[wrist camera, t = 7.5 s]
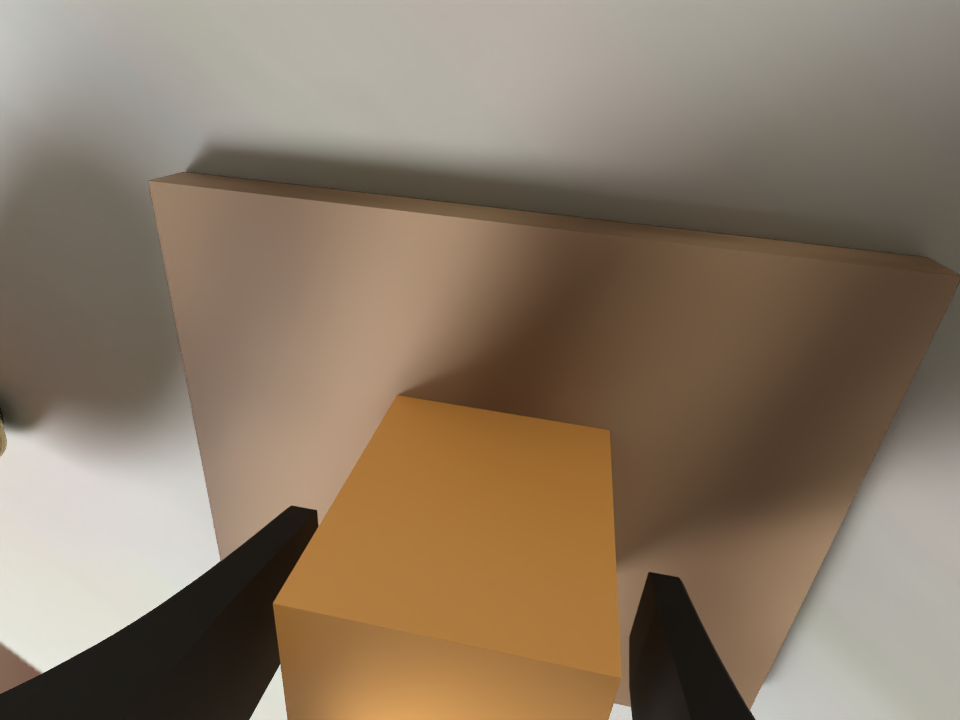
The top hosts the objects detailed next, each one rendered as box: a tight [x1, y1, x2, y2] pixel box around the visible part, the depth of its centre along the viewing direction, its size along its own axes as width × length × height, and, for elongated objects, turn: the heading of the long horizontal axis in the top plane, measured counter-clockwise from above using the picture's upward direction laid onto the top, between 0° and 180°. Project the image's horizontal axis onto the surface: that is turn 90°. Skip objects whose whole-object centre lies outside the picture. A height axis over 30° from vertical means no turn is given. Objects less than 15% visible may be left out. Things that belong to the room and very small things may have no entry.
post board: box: [148, 172, 960, 710], centre depth 13 cm, size 16×14×6 cm
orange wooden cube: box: [273, 395, 622, 720], centre depth 12 cm, size 5×5×6 cm
